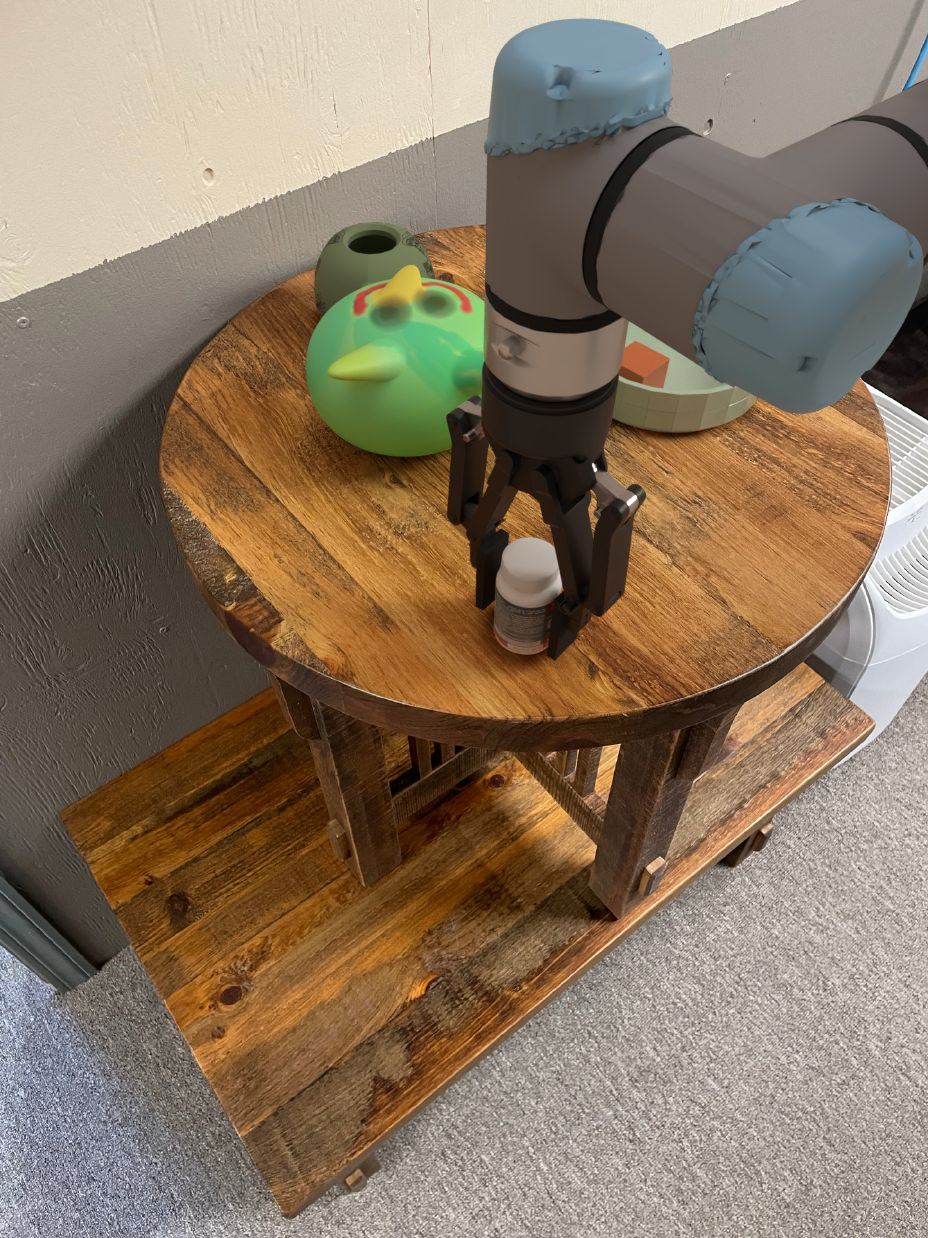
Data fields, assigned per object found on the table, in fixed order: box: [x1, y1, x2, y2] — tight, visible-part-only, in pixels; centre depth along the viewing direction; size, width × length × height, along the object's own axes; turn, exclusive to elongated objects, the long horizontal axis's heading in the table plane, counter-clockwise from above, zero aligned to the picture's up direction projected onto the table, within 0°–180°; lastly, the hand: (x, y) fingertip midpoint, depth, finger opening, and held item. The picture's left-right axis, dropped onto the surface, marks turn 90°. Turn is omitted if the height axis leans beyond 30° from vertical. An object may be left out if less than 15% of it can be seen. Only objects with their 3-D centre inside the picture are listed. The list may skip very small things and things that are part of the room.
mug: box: [313, 221, 436, 320], centre depth 87 cm, size 16×13×9 cm
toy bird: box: [305, 265, 485, 458], centre depth 74 cm, size 18×17×15 cm
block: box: [618, 341, 670, 388], centre depth 81 cm, size 4×4×4 cm
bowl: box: [612, 321, 759, 434], centre depth 84 cm, size 19×19×5 cm
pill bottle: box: [493, 536, 563, 656], centre depth 63 cm, size 5×5×8 cm
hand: (525, 621), depth 65 cm, fingers open, 6 cm apart
